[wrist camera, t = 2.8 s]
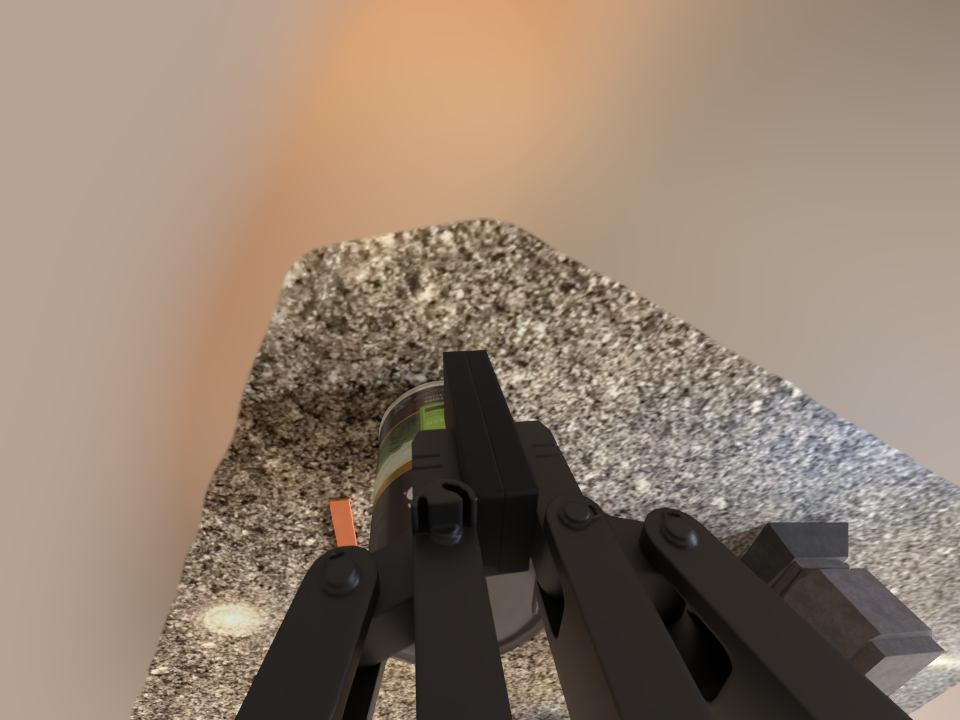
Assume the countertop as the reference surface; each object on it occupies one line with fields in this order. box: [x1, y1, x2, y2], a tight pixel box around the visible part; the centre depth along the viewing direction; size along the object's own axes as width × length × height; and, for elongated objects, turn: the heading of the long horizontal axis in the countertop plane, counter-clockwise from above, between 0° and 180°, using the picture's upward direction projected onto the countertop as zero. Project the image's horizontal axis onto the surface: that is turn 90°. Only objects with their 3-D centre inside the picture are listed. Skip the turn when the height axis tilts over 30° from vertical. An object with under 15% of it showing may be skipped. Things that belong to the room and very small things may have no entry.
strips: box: [329, 497, 357, 547], centre depth 38 cm, size 12×19×1 cm, turn 88°
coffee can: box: [369, 380, 545, 664], centre depth 26 cm, size 10×10×14 cm
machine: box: [741, 523, 945, 697], centre depth 43 cm, size 30×16×24 cm, turn 169°
